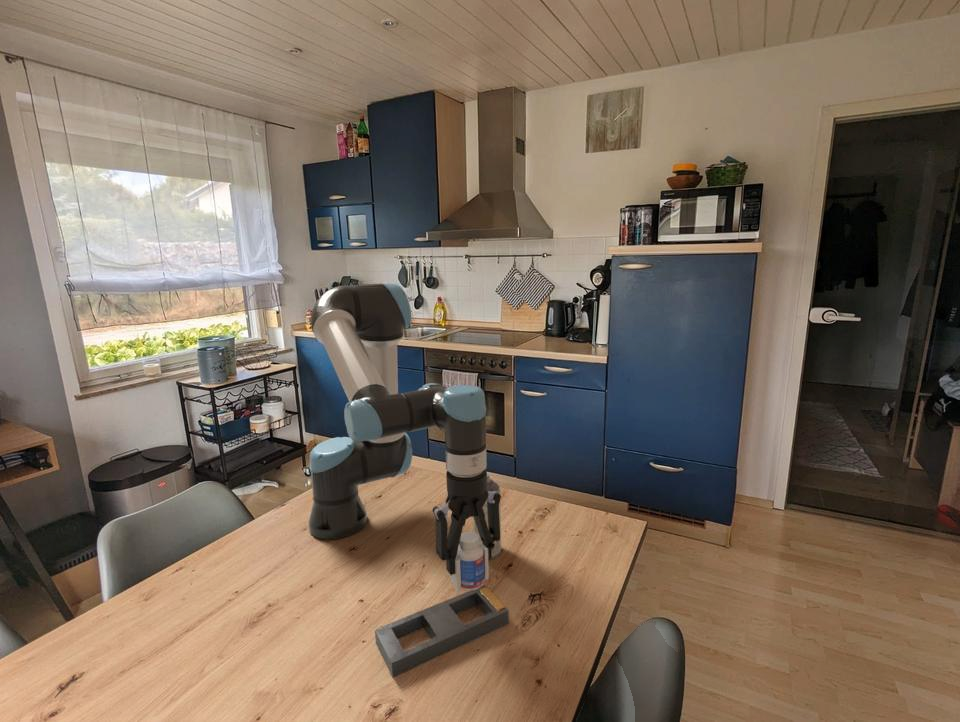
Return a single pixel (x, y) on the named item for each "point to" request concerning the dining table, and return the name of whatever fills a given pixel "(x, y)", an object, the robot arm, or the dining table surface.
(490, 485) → the aerosol can
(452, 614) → the grey bottle holder tray
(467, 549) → the pill bottle
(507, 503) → the dining table surface
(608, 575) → the dining table surface
